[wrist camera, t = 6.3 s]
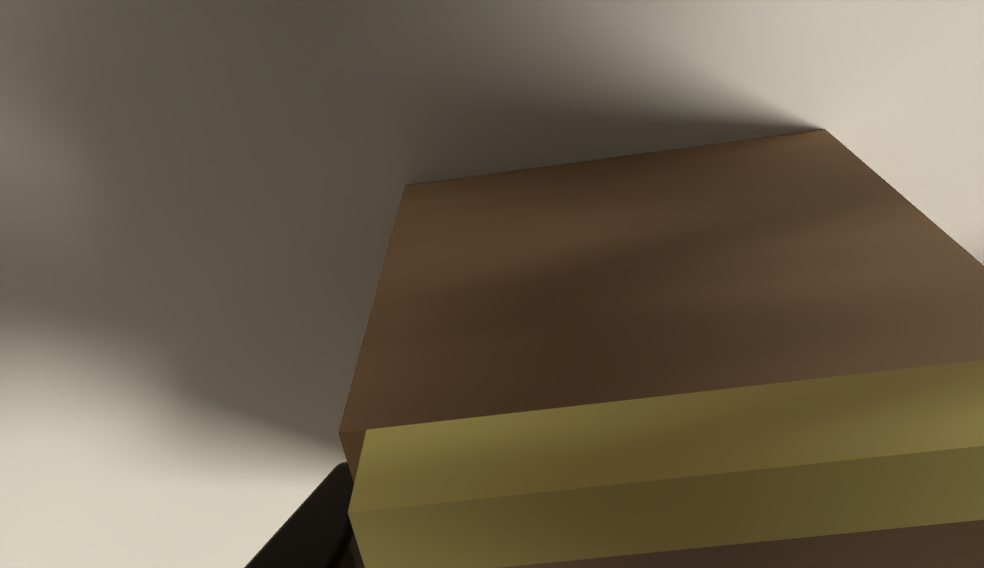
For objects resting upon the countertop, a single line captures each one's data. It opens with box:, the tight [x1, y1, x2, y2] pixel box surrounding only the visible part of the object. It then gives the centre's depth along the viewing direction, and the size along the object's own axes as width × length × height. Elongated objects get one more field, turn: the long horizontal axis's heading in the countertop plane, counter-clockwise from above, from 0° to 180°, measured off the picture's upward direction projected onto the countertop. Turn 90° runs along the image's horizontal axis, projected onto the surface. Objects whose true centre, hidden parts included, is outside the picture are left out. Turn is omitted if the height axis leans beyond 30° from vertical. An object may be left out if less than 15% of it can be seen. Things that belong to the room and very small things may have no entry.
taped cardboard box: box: [339, 129, 984, 568], centre depth 8 cm, size 5×5×6 cm
